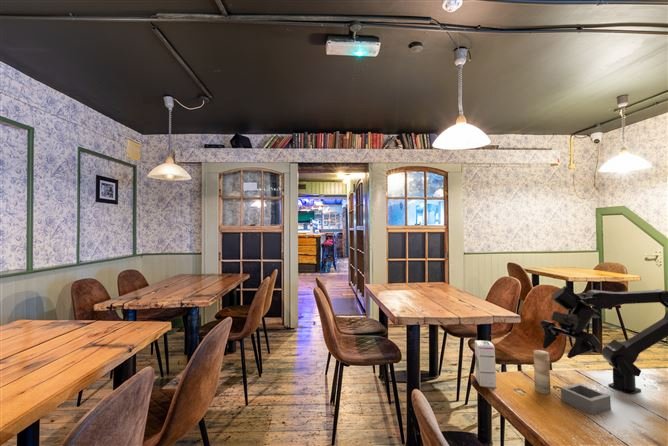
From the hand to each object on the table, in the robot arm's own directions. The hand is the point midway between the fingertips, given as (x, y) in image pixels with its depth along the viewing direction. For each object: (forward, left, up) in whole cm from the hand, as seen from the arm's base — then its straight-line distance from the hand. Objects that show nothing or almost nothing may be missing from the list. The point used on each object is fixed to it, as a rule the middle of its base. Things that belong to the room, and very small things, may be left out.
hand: (555, 352), depth 109 cm
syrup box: (+20, -12, -12) cm, 27 cm away
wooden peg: (+6, -1, -12) cm, 14 cm away
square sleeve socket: (+2, +10, -12) cm, 16 cm away
